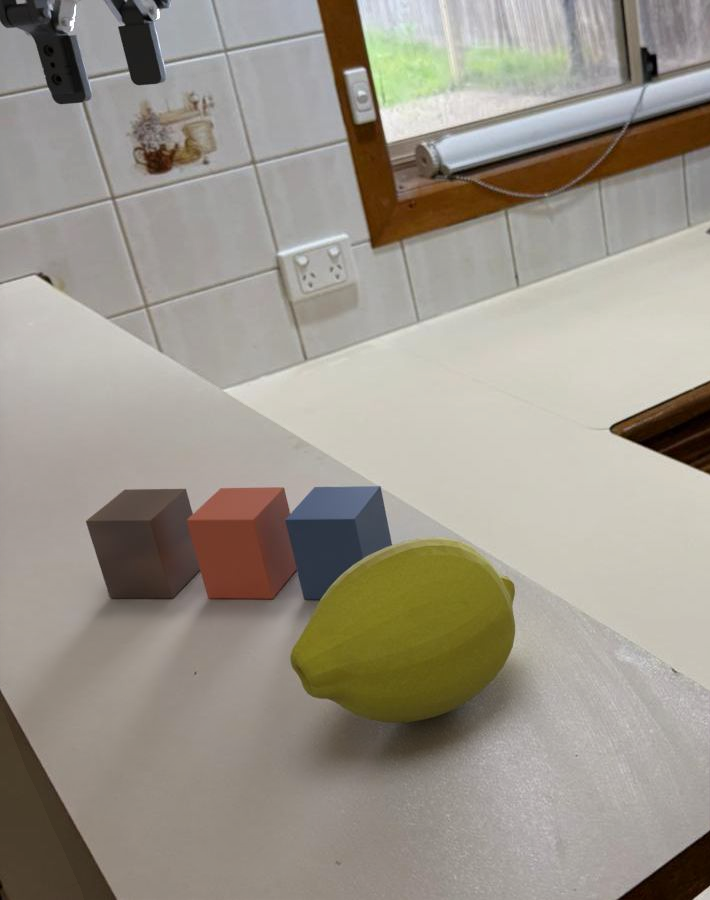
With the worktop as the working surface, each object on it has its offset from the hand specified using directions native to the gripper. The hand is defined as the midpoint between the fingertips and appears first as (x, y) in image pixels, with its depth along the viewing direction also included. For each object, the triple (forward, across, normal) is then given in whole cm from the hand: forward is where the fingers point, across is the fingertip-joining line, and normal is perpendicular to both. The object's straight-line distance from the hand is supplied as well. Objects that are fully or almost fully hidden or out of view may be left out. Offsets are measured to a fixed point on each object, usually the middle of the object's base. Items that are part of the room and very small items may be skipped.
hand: (114, 92), depth 71 cm
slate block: (+26, +16, +17) cm, 35 cm away
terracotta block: (+26, +16, +11) cm, 32 cm away
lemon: (+26, +27, +25) cm, 45 cm away
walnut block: (+26, +16, +5) cm, 31 cm away
